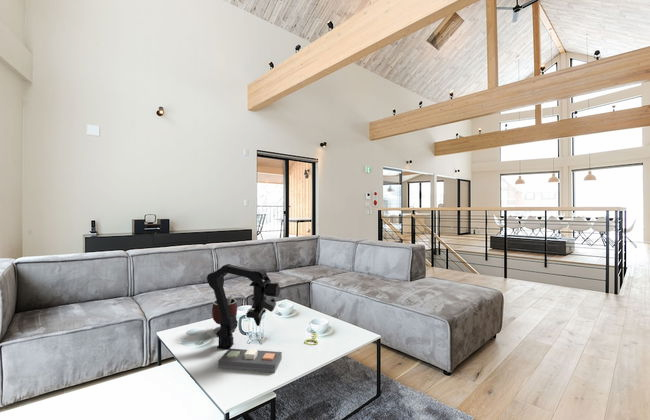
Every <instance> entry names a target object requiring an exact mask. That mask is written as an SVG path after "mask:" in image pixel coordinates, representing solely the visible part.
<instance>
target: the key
mask: <svg viewBox="0 0 650 420" xmlns="http://www.w3.org/2000/svg"><path fill="white" fill-rule="evenodd" d="M317 333H318V332H316V333H315V332H313V333H312V335H313V337H312V338H308V339H305V340H304V344H306V345H309V346H316V345H318V343H319V341H318V340H317V339H316V338H317V336H318V335H317ZM309 342H313V343H309Z"/></svg>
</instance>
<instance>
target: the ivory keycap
mask: <svg viewBox="0 0 650 420" xmlns="http://www.w3.org/2000/svg"><path fill="white" fill-rule="evenodd" d="M246 350H247V351H246V353H245V358H244V359H255V358H256V357H257V355H258V350H259V349H252V348H251V349H250V348H249V349H246Z"/></svg>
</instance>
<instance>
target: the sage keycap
mask: <svg viewBox="0 0 650 420" xmlns="http://www.w3.org/2000/svg"><path fill="white" fill-rule="evenodd" d="M239 355H240V351H230V352H229V353H228V354H227V358H237V357H238V356H239Z"/></svg>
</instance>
